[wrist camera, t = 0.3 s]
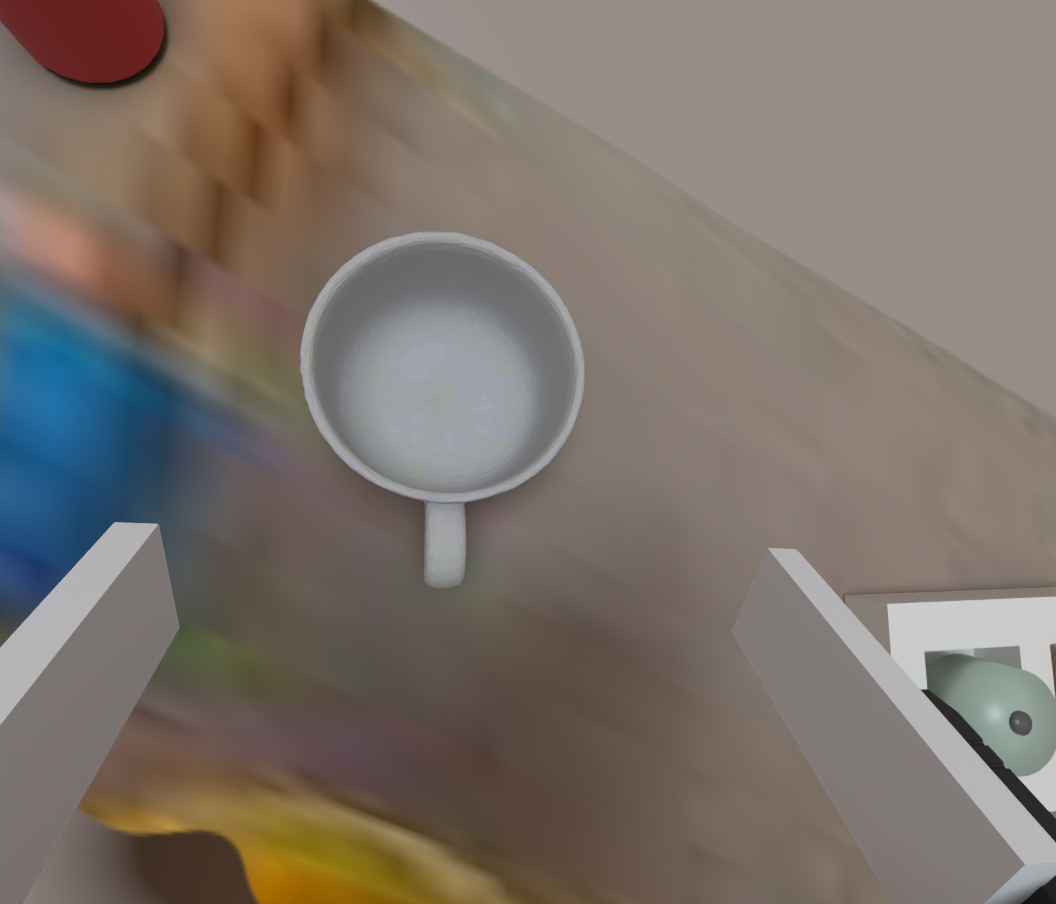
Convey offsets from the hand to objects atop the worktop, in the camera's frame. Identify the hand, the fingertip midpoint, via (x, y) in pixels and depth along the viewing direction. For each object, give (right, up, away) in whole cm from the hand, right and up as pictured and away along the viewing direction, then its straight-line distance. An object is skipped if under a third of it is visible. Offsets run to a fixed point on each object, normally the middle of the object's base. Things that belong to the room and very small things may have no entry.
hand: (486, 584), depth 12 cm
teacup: (-4, +4, +16) cm, 17 cm away
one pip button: (+24, -11, +17) cm, 32 cm away
